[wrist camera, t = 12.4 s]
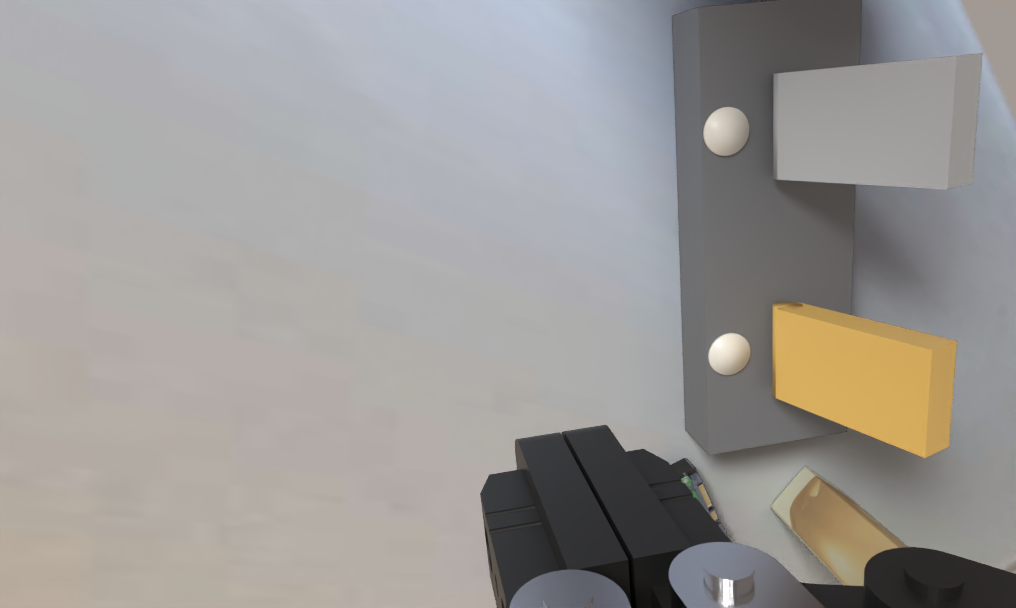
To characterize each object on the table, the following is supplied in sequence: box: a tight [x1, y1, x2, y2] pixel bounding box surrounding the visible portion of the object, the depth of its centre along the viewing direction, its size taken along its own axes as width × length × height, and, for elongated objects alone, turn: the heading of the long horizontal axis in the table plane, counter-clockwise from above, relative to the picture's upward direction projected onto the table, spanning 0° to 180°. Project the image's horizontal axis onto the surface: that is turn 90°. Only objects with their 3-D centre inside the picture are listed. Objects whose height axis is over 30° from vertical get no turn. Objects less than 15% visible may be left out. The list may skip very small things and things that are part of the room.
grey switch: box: [773, 53, 982, 190], centre depth 38 cm, size 6×2×11 cm, turn 6°
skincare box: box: [771, 467, 908, 586], centre depth 50 cm, size 6×4×12 cm
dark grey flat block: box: [672, 0, 862, 455], centre depth 47 cm, size 28×10×4 cm, turn 6°
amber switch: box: [772, 302, 957, 458], centre depth 42 cm, size 6×2×11 cm, turn 6°
